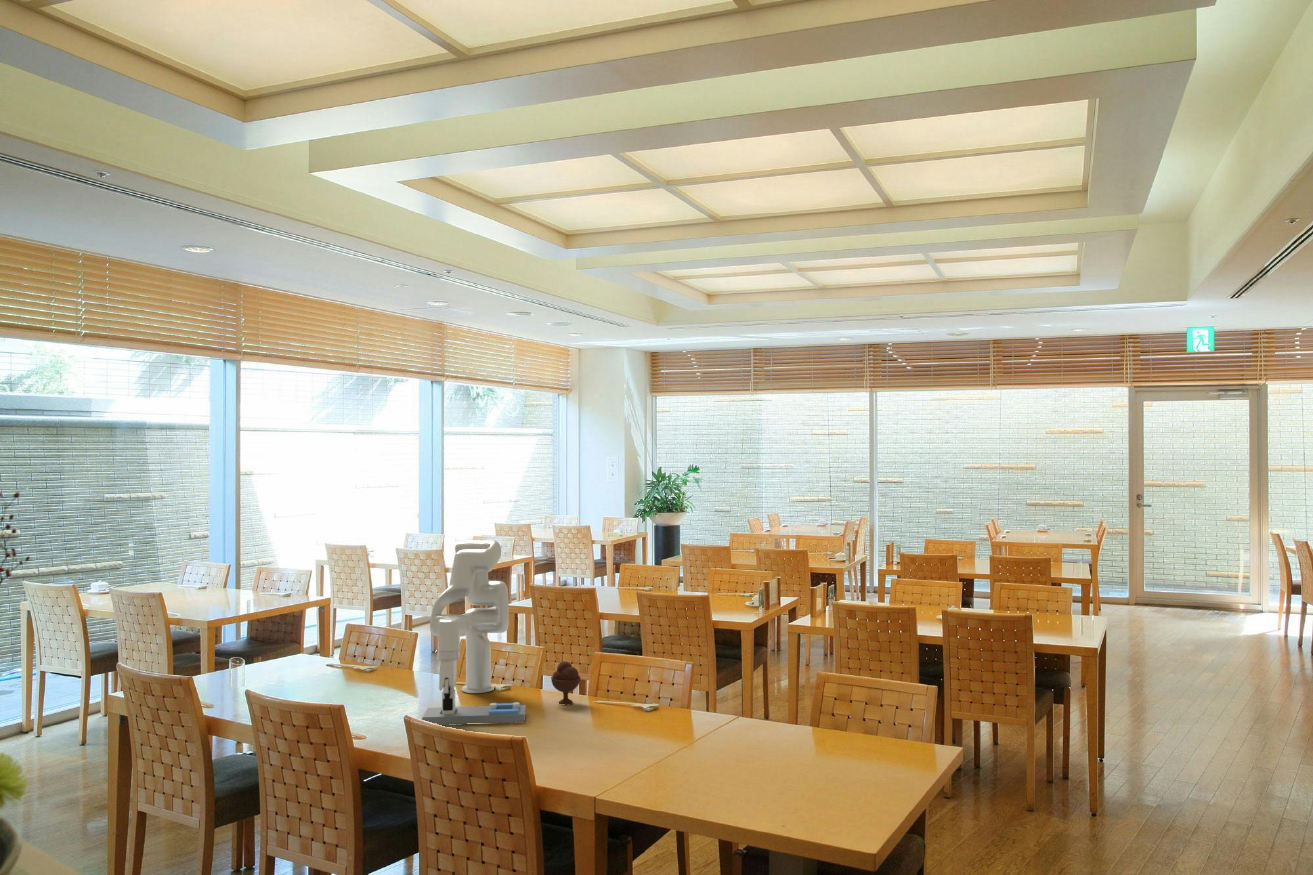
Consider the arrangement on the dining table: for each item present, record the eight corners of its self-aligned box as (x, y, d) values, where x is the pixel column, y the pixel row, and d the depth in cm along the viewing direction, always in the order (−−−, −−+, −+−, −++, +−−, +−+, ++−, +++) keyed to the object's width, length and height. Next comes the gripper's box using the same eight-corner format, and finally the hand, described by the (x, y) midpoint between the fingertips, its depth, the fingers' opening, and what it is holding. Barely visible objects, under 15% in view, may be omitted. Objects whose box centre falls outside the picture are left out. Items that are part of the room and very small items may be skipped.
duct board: (427, 716, 323) (427, 701, 323) (525, 713, 326) (525, 698, 327) (422, 726, 311) (422, 710, 311) (524, 722, 314) (524, 707, 315)
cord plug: (443, 719, 320) (443, 684, 320) (455, 718, 320) (455, 683, 320) (442, 722, 316) (442, 687, 316) (453, 721, 316) (453, 686, 316)
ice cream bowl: (545, 705, 337) (545, 663, 338) (562, 698, 347) (562, 657, 347) (569, 708, 332) (569, 666, 333) (586, 701, 342) (585, 660, 342)
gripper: (441, 650, 326) (441, 702, 326) (434, 660, 310) (434, 715, 309) (462, 649, 327) (462, 701, 327) (456, 659, 311) (456, 714, 310)
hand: (448, 707), depth 318 cm, fingers closed on cord plug, 4 cm apart
